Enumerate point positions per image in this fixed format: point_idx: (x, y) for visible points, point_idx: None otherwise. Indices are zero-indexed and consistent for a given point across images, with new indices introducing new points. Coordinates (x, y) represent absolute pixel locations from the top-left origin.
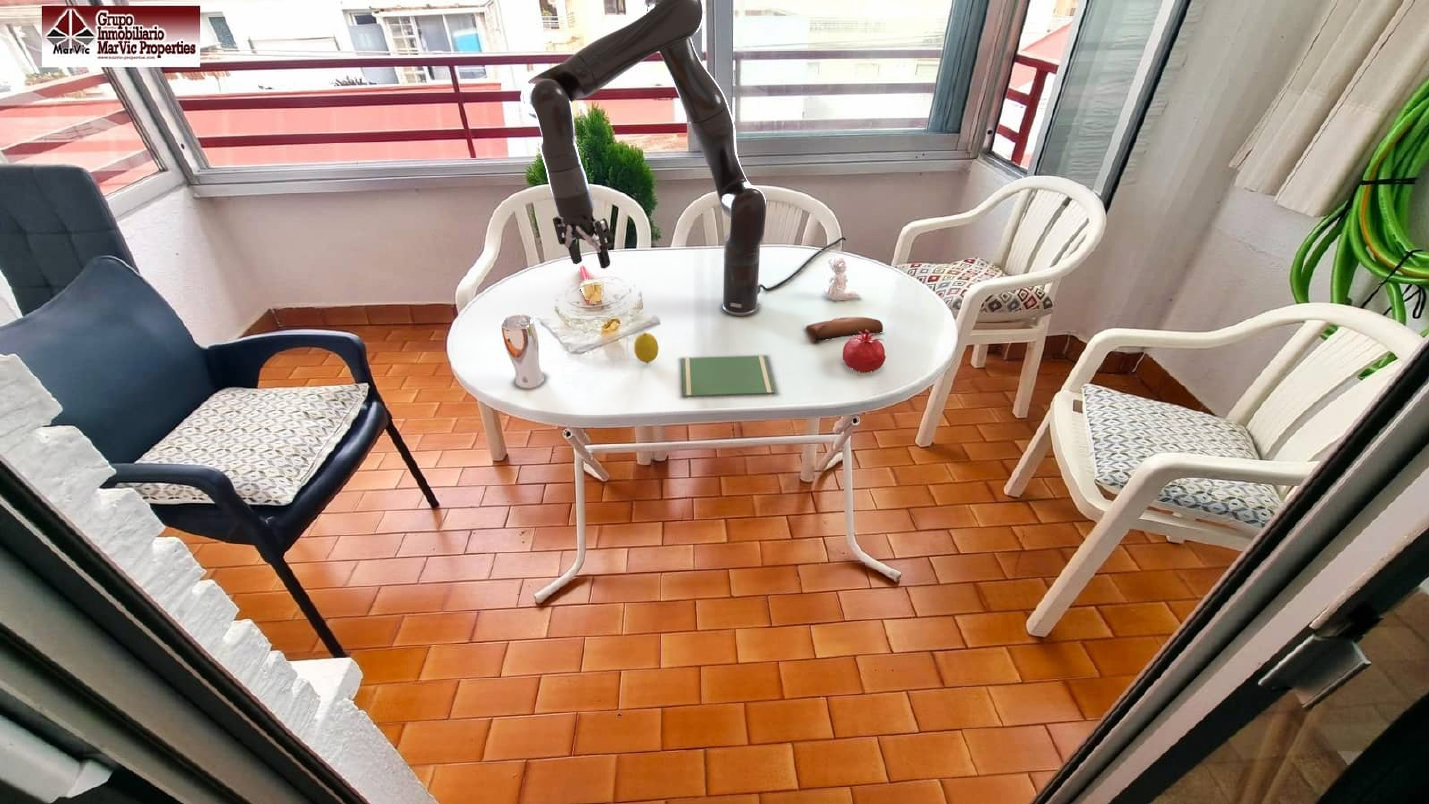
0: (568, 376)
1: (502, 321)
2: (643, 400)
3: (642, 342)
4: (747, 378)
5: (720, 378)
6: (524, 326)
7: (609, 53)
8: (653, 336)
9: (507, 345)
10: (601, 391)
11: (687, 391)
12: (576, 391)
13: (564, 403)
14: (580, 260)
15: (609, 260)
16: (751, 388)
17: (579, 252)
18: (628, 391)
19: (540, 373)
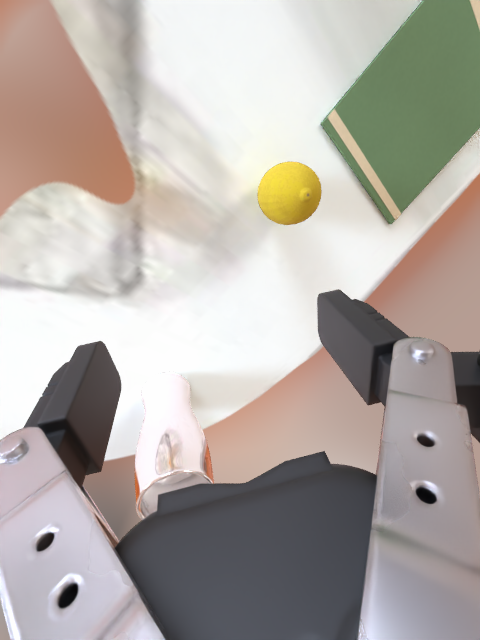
0: (200, 338)
1: None
2: (344, 279)
3: (308, 215)
4: (462, 84)
5: (420, 127)
6: (146, 456)
7: None
8: (311, 174)
9: (182, 484)
10: (277, 317)
11: (391, 211)
12: (247, 347)
13: (259, 373)
14: (103, 353)
15: (371, 311)
16: (477, 112)
17: (86, 377)
18: (310, 283)
19: (183, 387)
